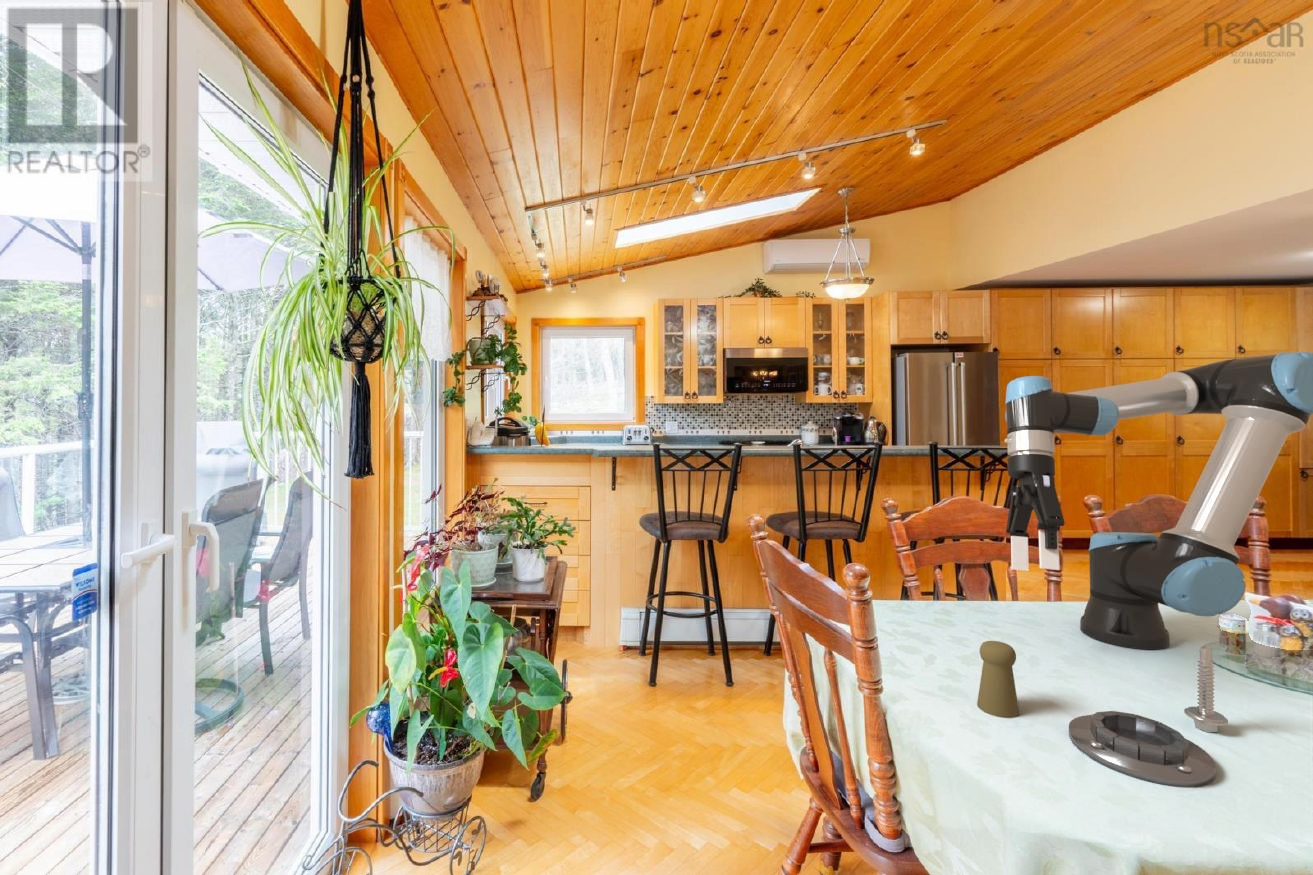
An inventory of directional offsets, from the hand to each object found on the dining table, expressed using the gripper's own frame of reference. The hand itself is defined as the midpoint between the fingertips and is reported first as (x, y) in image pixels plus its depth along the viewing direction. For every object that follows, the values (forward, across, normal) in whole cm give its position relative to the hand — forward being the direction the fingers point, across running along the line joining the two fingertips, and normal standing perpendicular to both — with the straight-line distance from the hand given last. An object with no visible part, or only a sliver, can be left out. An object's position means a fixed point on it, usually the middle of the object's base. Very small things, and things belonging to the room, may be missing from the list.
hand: (1033, 570), depth 102 cm
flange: (+25, +15, +7) cm, 30 cm away
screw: (+22, +6, +21) cm, 31 cm away
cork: (+24, +6, -8) cm, 26 cm away
